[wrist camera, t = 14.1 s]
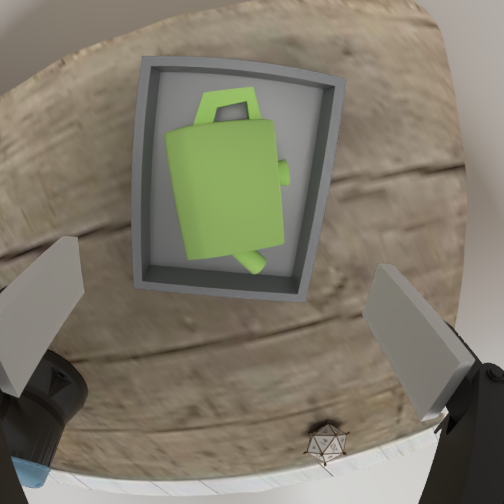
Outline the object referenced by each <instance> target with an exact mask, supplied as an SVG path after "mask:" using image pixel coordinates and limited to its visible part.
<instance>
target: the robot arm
mask: <svg viewBox="0 0 504 504" xmlns="http://www.w3.org/2000/svg"><path fill="white" fill-rule="evenodd" d="M84 293H85V292H84V286H83V279H82V272H81V264H80V256H79V246H78V237H70V236H62V237H61V238H60V239H59V240H58V241H56V242H55V243H54V244H53V245H52V246H51V247H49V248H48V249H47V250H46V251H45V252H44V253H43V254H42V255H40V256H39V257H38V258H37V259H36V260H35V261H34V262H33V263H32V264H30V265H29V266H28V267H27V268H26V269H25V270H24V271H23V272H22V273H21V274H20V275H19V276H18V277H17V278H16V279H15V280H14V281H13V282H11V283H10V284H9V285H8V286H6V287H4V288H3V289H1V290H0V504H28V501H27V499H26V496H25V494H24V491H23V489H22V486H21V485H23V486H25V487H29V488H40V487H42V486H43V484H44V483H45V480H46V478H47V476H48V473H49V472H50V470H51V468H50V467H51V464H52V461H53V458H54V455H55V452H56V450H57V447H58V444H59V441H60V438H61V436H62V433H63V430H64V427H65V425H66V424H67V422H68V421H69V420H70V419H71V418H72V417H73V416H74V415H75V414H76V413H77V412H78V411H79V410H80V409H81V408H82V407H83V405H84V403H85V400H86V398H87V394H88V391H87V386H86V384H85V382H84V380H83V378H82V377H81V375H80V374H79V373H78V372H77V371H76V370H75V368H74V367H72V366H71V365H70V364H69V363H68V362H67V361H65V360H64V359H63V358H61V357H60V356H58V355H57V354H55V353H53V352H51V351H49V350H47V349H48V347H49V345H50V344H51V342H52V341H53V339H54V337H55V336H56V334H57V333H58V331H59V330H60V328H61V327H62V325H63V323H64V322H65V320H66V319H67V317H68V316H69V314H70V313H71V312H72V310H73V309H74V307H75V306H76V304H77V303H78V301H79V300H80V298H81V297H82V296H83V294H84ZM362 315H363V317H364V319H365V321H366V322H367V324H368V326H369V327H370V329H371V331H372V333H373V334H374V336H375V338H376V340H377V341H378V343H379V345H380V347H381V348H382V350H383V352H384V354H385V355H386V357H387V359H388V361H389V363H390V364H391V366H392V368H393V370H394V372H395V374H396V375H397V377H398V379H399V381H400V383H401V385H402V387H403V388H404V390H405V392H406V394H407V396H408V398H409V400H410V402H411V404H412V405H413V407H414V409H415V411H416V413H417V415H418V417H419V419H420V421H424V420H429V419H433V418H437V416H438V415H439V414H440V412H441V411H442V409H443V408H444V407H445V406H446V408H447V410H448V411H449V413H448V414H447V416H446V417H445V418H444V419H443V421H442V422H441V423H440V424H439V426H438V427H437V428H436V430H435V431H434V433H435V434H436V433H437V432H438V431H439V430H440V429H442V431H441V434H440V438H439V442H438V446H437V450H436V453H435V456H434V460H433V463H432V466H431V470H430V472H429V476H428V478H427V481H426V484H425V487H424V490H423V492H422V495H421V498H420V500H419V503H418V504H504V371H503V370H502V369H501V368H500V367H499V366H497V365H495V364H492V363H484V364H482V363H481V361H480V360H479V359H478V358H477V356H476V355H475V354H474V353H473V351H472V350H471V349H470V348H469V346H468V345H467V344H466V343H465V342H464V340H463V339H462V338H461V337H460V336H458V333H457V332H456V331H455V330H454V328H453V327H452V326H451V325H449V324H448V323H447V322H445V321H444V320H443V319H442V318H441V317H440V316H439V315H438V314H437V313H436V311H435V310H434V309H433V308H432V307H431V306H430V305H429V303H428V302H427V301H426V300H425V299H424V298H423V297H422V296H421V294H420V293H419V292H418V291H417V290H416V289H415V288H414V287H413V286H412V285H411V284H410V282H409V281H408V280H407V279H406V278H405V277H404V276H403V275H402V274H401V273H400V272H399V271H398V270H397V269H396V268H395V266H394V265H393V264H382V263H378V267H377V270H376V273H375V276H374V280H373V283H372V286H371V289H370V292H369V295H368V298H367V301H366V304H365V307H364V310H363V313H362Z"/></svg>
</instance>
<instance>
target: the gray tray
mask: <svg viewBox="0 0 504 504" xmlns="http://www.w3.org/2000/svg"><path fill="white" fill-rule="evenodd" d="M345 85H346V79H345V78H341V77H337V76H333V75H328V74H324V73H319V72H314V71H309V70H304V69H299V68H294V67H288V66H282V65H275V64H268V63H261V62H253V61H245V60H235V59H224V58H210V57H190V56H142V61H141V68H140V76H139V84H138V93H137V102H136V113H135V125H134V139H133V157H132V187H131V231H132V262H133V280H134V288H136V289H145V290H155V291H164V292H174V293H185V294H195V295H207V296H218V297H231V298H244V299H258V300H273V301H289V302H305V299H306V295H307V291H308V286H309V282H310V278H311V273H312V269H313V265H314V260H315V256H316V251H317V246H318V242H319V237H320V232H321V227H322V222H323V217H324V212H325V207H326V202H327V197H328V192H329V186H330V181H331V175H332V170H333V164H334V158H335V152H336V146H337V140H338V133H339V127H340V120H341V114H342V107H343V100H344V92H345ZM244 87H254V91H255V95H256V98H257V102H258V106H259V110H260V114H261V117H262V119H269V120H272V121H273V122H274V129H275V138H276V147H277V157H278V161H280V160H283V159H286V161H287V163H288V166H289V171H290V184H289V186H281V185H280V190H281V202H282V215H283V229H284V243H283V244H282V245H278V246H273V247H268V248H263V249H259V250H257V251H258V252H259V253H260V254H261V255H262V256H264V257H265V258H266V264H265V266H264V267H263V269H262V270H261V271H260V272H259V273H257V274H252V273H251V272H250V271H249V270H248V269H247V268H245V267H244V266H243V265H242V264H241V263H240V262H239V261H238V260H237V259H235V258H234V257H233V256H232V255H226V256H220V257H214V258H207V259H195V260H187V257H186V252H185V248H184V243H183V239H182V234H181V229H180V225H179V220H178V215H177V210H176V205H175V200H174V194H173V189H172V183H171V178H170V172H169V166H168V160H167V154H166V147H165V140H164V134H165V133H167V132H169V131H171V130H174V129H178V128H182V127H186V126H190V125H193V124H194V121H195V118H196V114H197V111H198V108H199V105H200V102H201V99H202V95H203V93H204V92H211V91H218V90H226V89H235V88H244ZM240 119H248V118H247V111H246V105H245V102H243V103H238V104H233V105H229V106H224V107H220V108H217V111H216V115H215V118H214V122H217V121H227V120H240Z"/></svg>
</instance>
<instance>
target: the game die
mask: <svg viewBox="0 0 504 504" xmlns="http://www.w3.org/2000/svg"><path fill="white" fill-rule="evenodd" d="M308 433H309V434H310V435H311V436H310V440H309V444H308V449H307V451H306V452H304V453H303V454H306V453H309V454H311V455H312V456H314V457H316V458H317V459H319V460H321V461H322V462H324V466H326V462H328V461H330V460H332V459H334V458H336V457H337V456H339V455H341V454H343V455H347V454H346V453H345V452H344V448H345V441H346V435H348V434H349V433H350V432H347V433H344V432H342V431H341V430H339V429H337V428H336V427H334V426H332V425H330V424H329V419H328V421H327V424H326V425H324V426H323V427H321V428H320V429H318V430H316V431H315V432H313V433H311V432H308Z"/></svg>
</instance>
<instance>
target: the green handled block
mask: <svg viewBox="0 0 504 504" xmlns="http://www.w3.org/2000/svg"><path fill="white" fill-rule="evenodd" d="M243 102H245V105H246V111H247V118H248V119H240V120H227V121H217V122H214V118H215V115H216V111H217V108H220V107H224V106H229V105H233V104H238V103H243ZM164 140H165V147H166V154H167V160H168V166H169V172H170V178H171V183H172V189H173V194H174V200H175V205H176V210H177V215H178V220H179V225H180V229H181V234H182V239H183V243H184V248H185V252H186V257H187V260H195V259H207V258H214V257H220V256H226V255H232V256H233V257H234V258H235V259H237V260H238V261H239V262H240V263H241V264H242V265H243V266H244V267H245V268H247V269H248V270H249V271H250V272H251V273H252V274H257V273H259V272H260V271H261V270H262V269H263V267H264V266H265V264H266V258H265V257H264V256H262V255H261V254H260V253H259V252H258V251H257V250H259V249H263V248H268V247H273V246H278V245H282V244H283V243H284V229H283V215H282V202H281V190H280V185H281V186H289V184H290V171H289V166H288V163H287V161H286V159H283V160H280V161H278V157H277V147H276V138H275V129H274V122H273V121H272V120H269V119H262V117H261V114H260V110H259V106H258V102H257V98H256V95H255V91H254V87H244V88H235V89H226V90H218V91H211V92H204V93H203V95H202V99H201V102H200V105H199V108H198V111H197V114H196V118H195V121H194V124H193V125H190V126H186V127H182V128H178V129H174V130H171V131H169V132H167V133H165V134H164Z"/></svg>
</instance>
